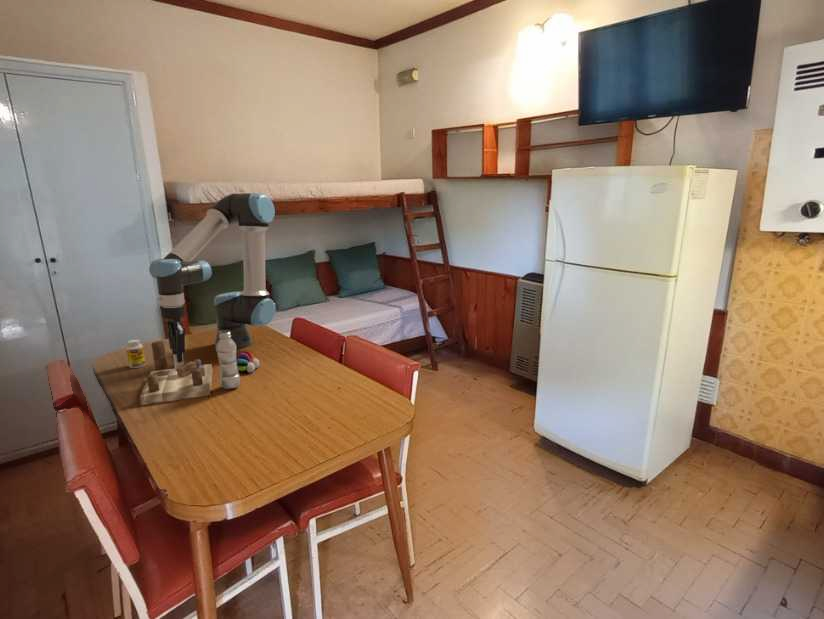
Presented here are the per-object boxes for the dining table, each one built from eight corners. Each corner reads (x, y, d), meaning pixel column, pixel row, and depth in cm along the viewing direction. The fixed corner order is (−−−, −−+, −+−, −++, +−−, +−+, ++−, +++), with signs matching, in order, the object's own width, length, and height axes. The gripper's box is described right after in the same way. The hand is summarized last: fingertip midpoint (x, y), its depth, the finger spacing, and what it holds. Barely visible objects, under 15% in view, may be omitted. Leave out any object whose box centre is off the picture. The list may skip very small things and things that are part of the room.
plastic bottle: (234, 392, 154) (228, 335, 149) (216, 390, 155) (209, 334, 150) (245, 384, 160) (239, 329, 155) (227, 382, 162) (221, 328, 157)
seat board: (212, 371, 172) (210, 351, 170) (209, 395, 152) (207, 372, 150) (152, 379, 165) (149, 358, 163) (141, 405, 145) (137, 381, 143)
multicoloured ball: (262, 365, 177) (260, 348, 176) (251, 375, 168) (249, 357, 166) (241, 365, 178) (239, 347, 176) (229, 374, 169) (226, 356, 167)
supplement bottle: (131, 369, 174) (127, 344, 172) (127, 365, 178) (123, 340, 175) (147, 365, 178) (143, 340, 175) (143, 362, 182) (139, 337, 179)
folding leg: (197, 366, 168) (196, 358, 167) (203, 367, 167) (202, 359, 166) (177, 375, 160) (176, 367, 159) (183, 376, 159) (182, 368, 158)
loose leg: (168, 368, 176) (164, 340, 173) (167, 371, 172) (162, 344, 169) (156, 369, 174) (152, 342, 171) (155, 373, 171) (150, 345, 168)
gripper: (154, 303, 157) (162, 367, 163) (167, 311, 149) (174, 378, 155) (177, 300, 162) (184, 362, 169) (191, 307, 154) (197, 372, 160)
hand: (179, 369), depth 162 cm, fingers closed
